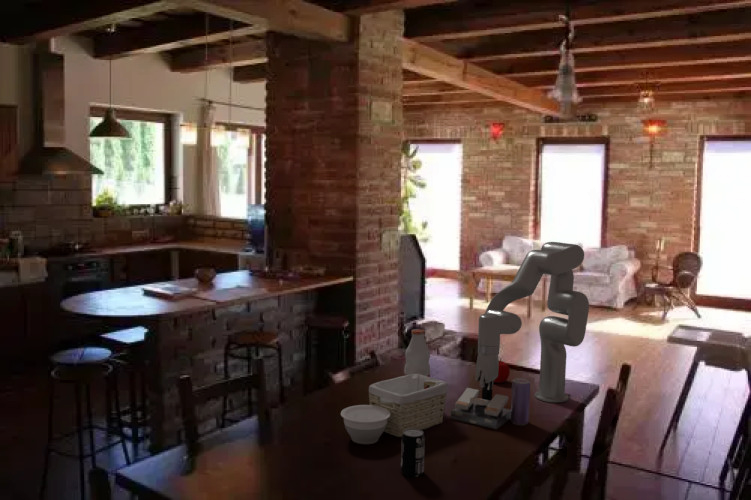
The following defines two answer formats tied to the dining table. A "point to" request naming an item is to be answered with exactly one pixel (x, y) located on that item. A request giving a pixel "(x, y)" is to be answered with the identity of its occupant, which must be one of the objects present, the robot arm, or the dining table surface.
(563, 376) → the robot arm
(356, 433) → the bowl
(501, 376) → the fruit
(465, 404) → the rocker
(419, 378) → the storage basket
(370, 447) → the dining table surface
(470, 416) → the switch unit
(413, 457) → the beverage can
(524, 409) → the beverage can
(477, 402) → the rocker
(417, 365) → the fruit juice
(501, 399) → the rocker
